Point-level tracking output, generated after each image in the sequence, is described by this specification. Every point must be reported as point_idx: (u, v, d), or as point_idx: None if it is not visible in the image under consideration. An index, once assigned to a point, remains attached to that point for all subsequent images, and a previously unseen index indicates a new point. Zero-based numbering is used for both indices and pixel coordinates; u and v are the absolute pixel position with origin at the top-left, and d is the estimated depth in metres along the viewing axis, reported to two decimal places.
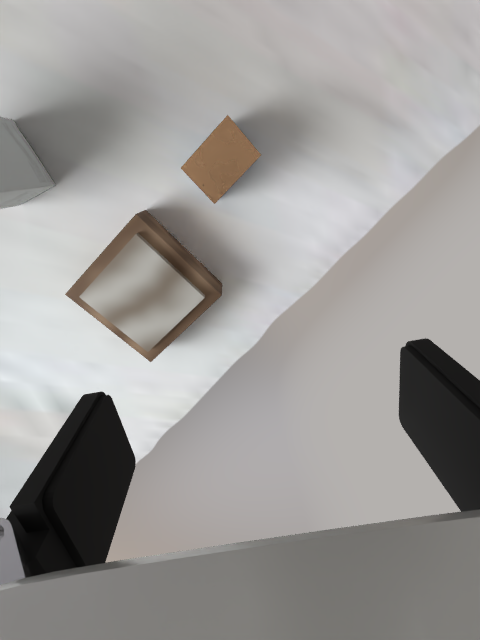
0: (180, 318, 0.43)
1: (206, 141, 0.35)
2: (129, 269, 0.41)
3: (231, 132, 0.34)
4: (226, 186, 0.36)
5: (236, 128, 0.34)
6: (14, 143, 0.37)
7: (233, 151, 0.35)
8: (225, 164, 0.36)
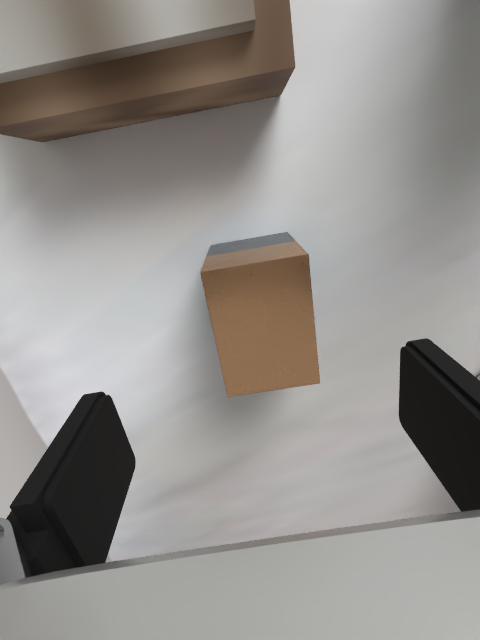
0: None
1: (311, 329, 0.17)
2: None
3: (293, 374, 0.18)
4: (217, 315, 0.16)
5: (292, 384, 0.18)
6: None
7: (263, 360, 0.17)
8: (253, 336, 0.17)
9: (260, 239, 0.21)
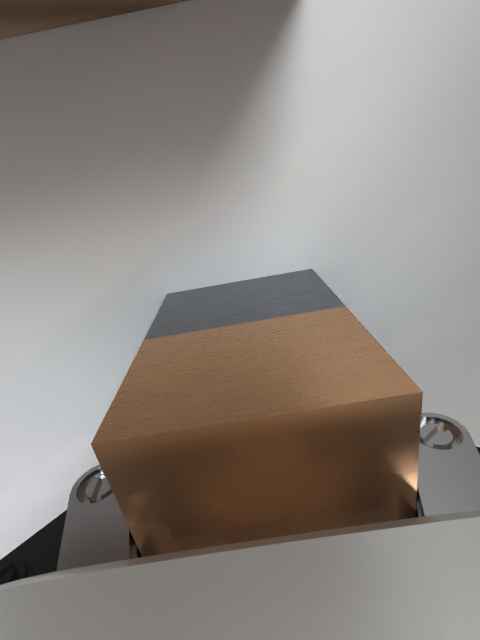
0: None
1: None
2: None
3: None
4: (153, 536, 0.06)
5: None
6: None
7: None
8: None
9: (262, 287, 0.10)
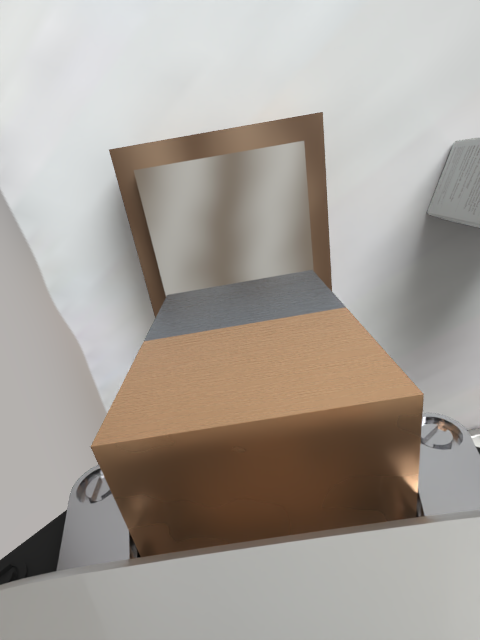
0: (162, 271, 0.24)
1: None
2: (282, 258, 0.24)
3: None
4: (153, 538, 0.06)
5: None
6: None
7: None
8: None
9: (262, 288, 0.10)
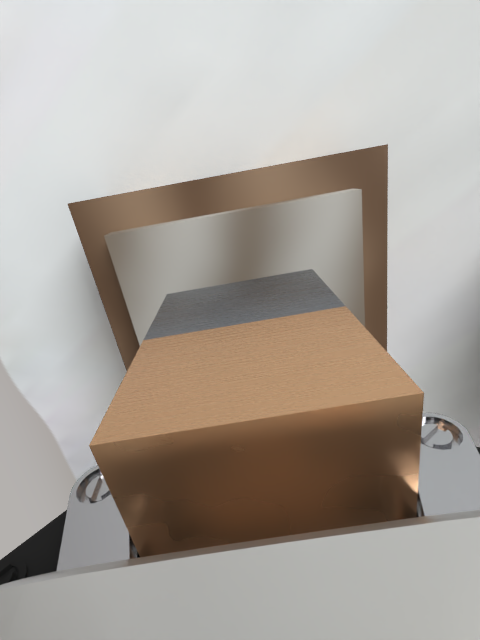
0: None
1: None
2: None
3: None
4: (152, 538, 0.06)
5: None
6: None
7: None
8: None
9: (262, 287, 0.10)
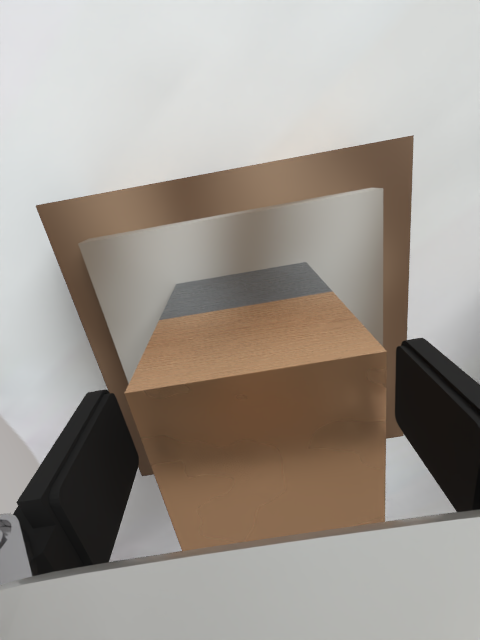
0: None
1: (378, 493, 0.08)
2: None
3: None
4: (171, 475, 0.07)
5: None
6: None
7: None
8: (252, 508, 0.08)
9: (261, 277, 0.12)
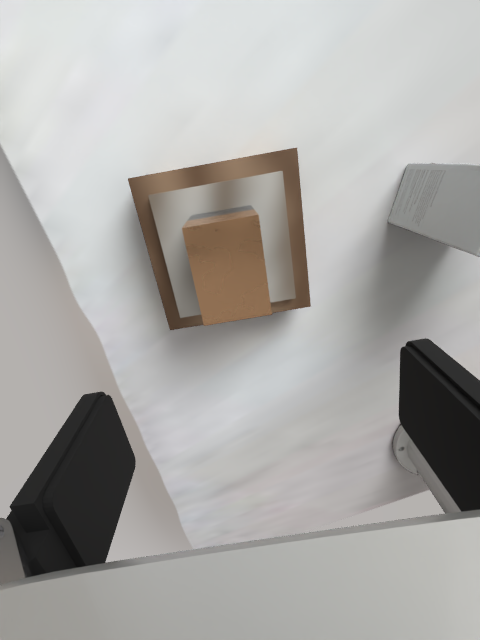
0: (171, 274, 0.30)
1: (263, 271, 0.23)
2: (267, 263, 0.30)
3: (252, 307, 0.24)
4: (194, 261, 0.22)
5: (251, 315, 0.24)
6: None
7: (229, 296, 0.24)
8: (221, 277, 0.23)
9: (229, 210, 0.27)
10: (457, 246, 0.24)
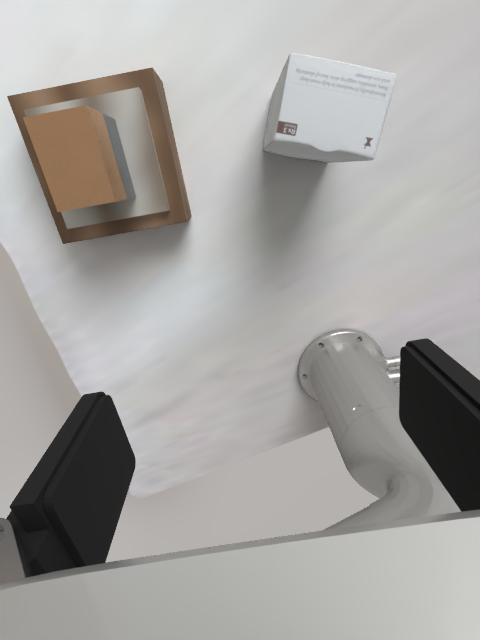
0: None
1: (100, 160, 0.27)
2: (138, 175, 0.34)
3: (96, 194, 0.28)
4: (39, 149, 0.26)
5: (97, 202, 0.28)
6: (309, 158, 0.36)
7: (75, 183, 0.27)
8: (64, 164, 0.27)
9: None
10: (271, 140, 0.27)
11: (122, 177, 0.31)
